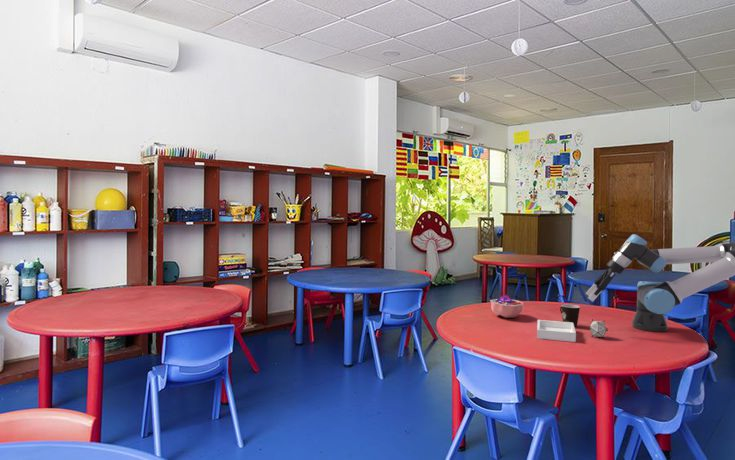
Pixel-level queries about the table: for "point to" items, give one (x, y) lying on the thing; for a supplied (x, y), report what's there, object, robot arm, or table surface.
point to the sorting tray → (556, 330)
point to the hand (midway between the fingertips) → (588, 297)
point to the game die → (597, 328)
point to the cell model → (506, 306)
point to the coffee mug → (570, 313)
